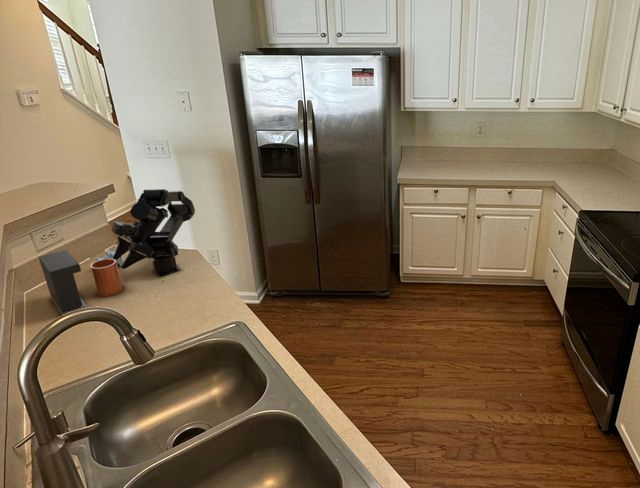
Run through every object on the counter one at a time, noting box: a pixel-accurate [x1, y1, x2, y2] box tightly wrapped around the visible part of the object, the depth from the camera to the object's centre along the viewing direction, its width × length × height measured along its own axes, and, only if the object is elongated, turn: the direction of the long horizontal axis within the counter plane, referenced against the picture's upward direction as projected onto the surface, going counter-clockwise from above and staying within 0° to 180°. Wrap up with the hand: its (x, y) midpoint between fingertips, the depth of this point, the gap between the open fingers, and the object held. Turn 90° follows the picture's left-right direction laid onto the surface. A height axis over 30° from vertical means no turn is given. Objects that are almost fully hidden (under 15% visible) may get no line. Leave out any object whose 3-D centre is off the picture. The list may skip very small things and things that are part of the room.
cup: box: [90, 259, 124, 297], centre depth 139 cm, size 7×7×10 cm
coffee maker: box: [38, 249, 88, 316], centre depth 131 cm, size 7×14×15 cm, turn 49°
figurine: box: [95, 249, 124, 267], centre depth 155 cm, size 4×8×6 cm, turn 140°
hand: (118, 263), depth 141 cm, fingers open, 9 cm apart
